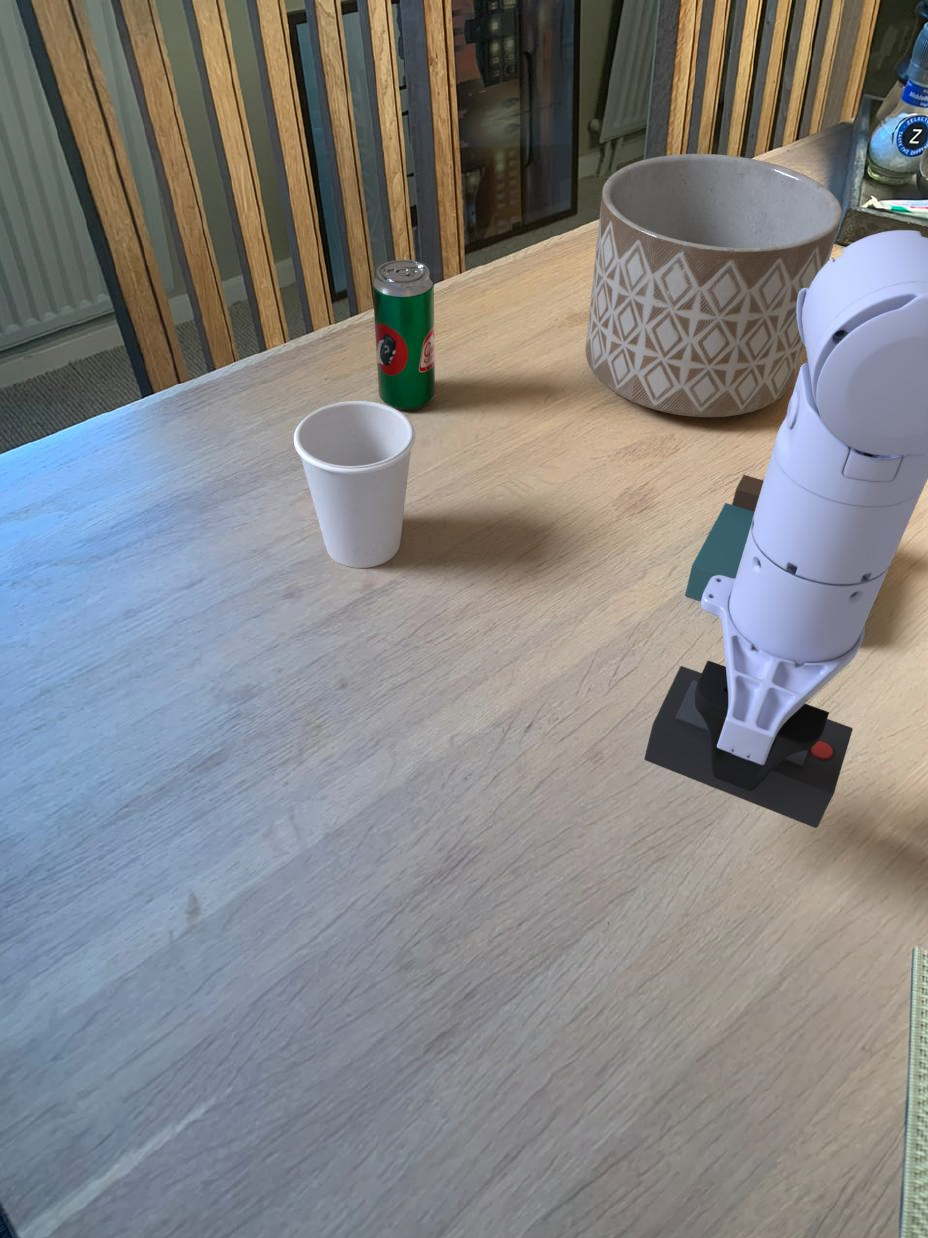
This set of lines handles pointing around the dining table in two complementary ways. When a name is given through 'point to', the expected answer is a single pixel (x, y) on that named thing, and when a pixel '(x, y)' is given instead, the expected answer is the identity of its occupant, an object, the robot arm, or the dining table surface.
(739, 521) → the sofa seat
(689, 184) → the planter
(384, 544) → the dixie cup
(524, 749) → the dining table surface
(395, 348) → the soda can
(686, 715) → the remote
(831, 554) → the robot arm
